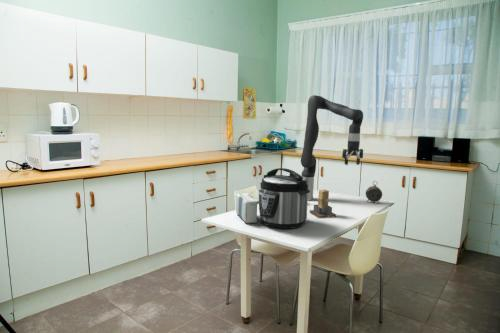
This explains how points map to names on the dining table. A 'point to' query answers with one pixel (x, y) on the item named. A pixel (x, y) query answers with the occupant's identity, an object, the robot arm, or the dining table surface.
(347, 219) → the dining table surface
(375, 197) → the alarm clock
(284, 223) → the pressure cooker
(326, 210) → the socket board
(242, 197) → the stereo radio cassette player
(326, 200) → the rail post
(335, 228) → the dining table surface
